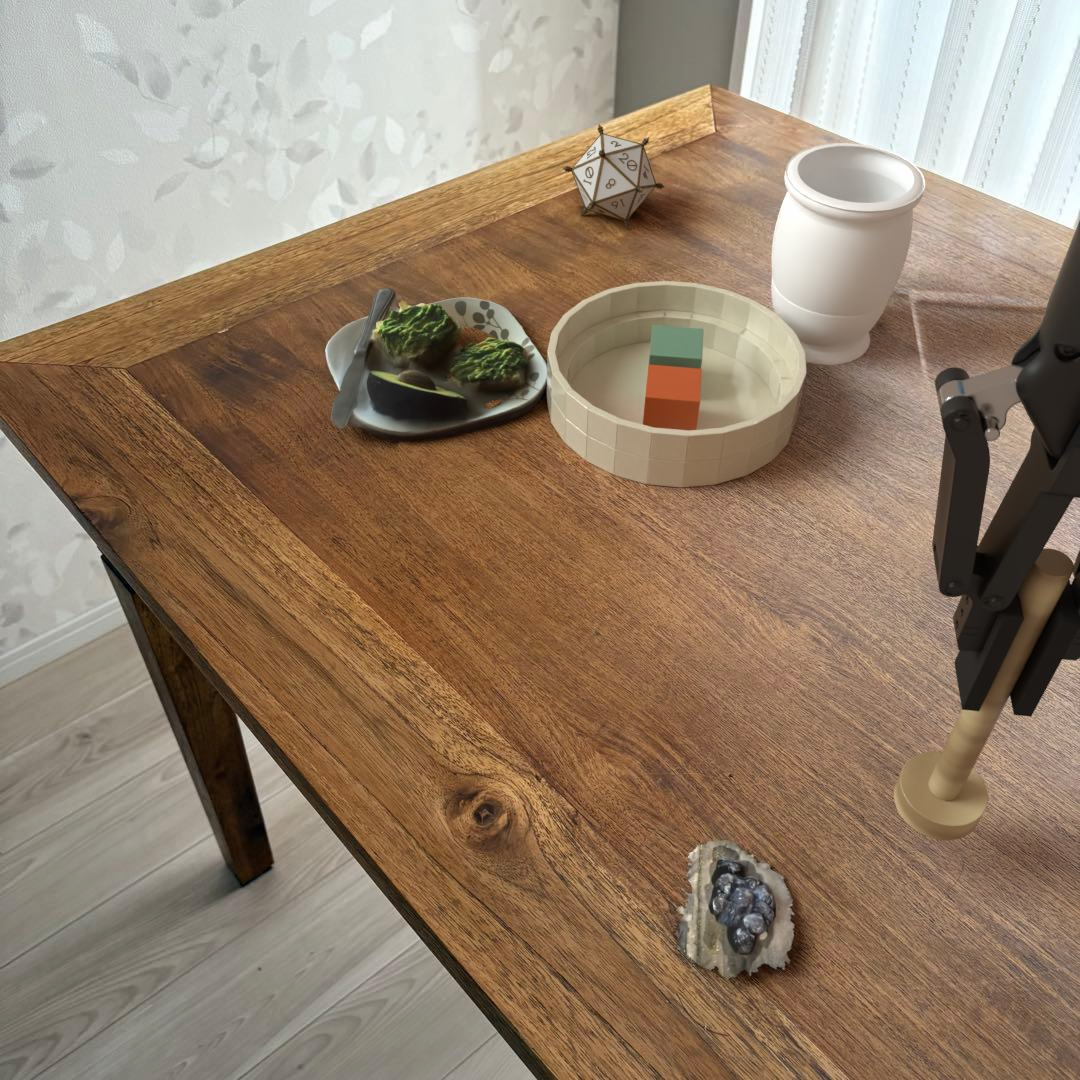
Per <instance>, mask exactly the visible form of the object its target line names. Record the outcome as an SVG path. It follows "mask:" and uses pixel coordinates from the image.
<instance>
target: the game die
mask: <svg viewBox="0 0 1080 1080" xmlns="http://www.w3.org/2000/svg"><path fill="white" fill-rule="evenodd" d="M597 133H599V135H598V136H597V138H596V139H595V140H594V141H593V142H592V144H591V145H590V146H589V147H588V148H587V150H586V151H584V153H583V154H582V155H581V156H580V158H579V159H578V160H577V161H576V162H575V164H574V165H573V166H572V167H571V166H569V165H566V166H563V167H562V169H563V171H565V172H568V173H569V172H571V175H572V176H573V179H574V182H575V184H576V187H577V190H578V192H579V195H580V198H581V200H582V203H583V206H584V208H582V209H581V210H580V216H583V215H587V213H588V211H590V212H594V213H596V214H601V215H603V216H607V217H610V218H614V219H617V220H620V221H624V227H625V228H626V229H627V230H630V227H631V224H630V223H631V222H630V221H629V219H630V218H631V216H632V215H634V213H635V212H636V211H637V209H638V208H639V207H640V206H641V205H642V203H643V202H644V201H645V200H646V199H647V198H648V196H649V195H650V194H651V193H652V192H653V191H654V189H655V188H657V189H659V190H662V189H664V188H666V186H665V185H664V184H663V183H662V182H656V179H655V176H654V173H653V169H652V167H651V163H650V160H649V157H648V155H647V151H646V149H645V146H647V145H648V144H649V141H650V137H646V138H643V139H642V141H641V142H638V141H635V140H629V139H626V138H622V137H618V136H614V135H610V134H607V133H605V132H604V126H602V125H601V124H598V125H597Z"/></svg>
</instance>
